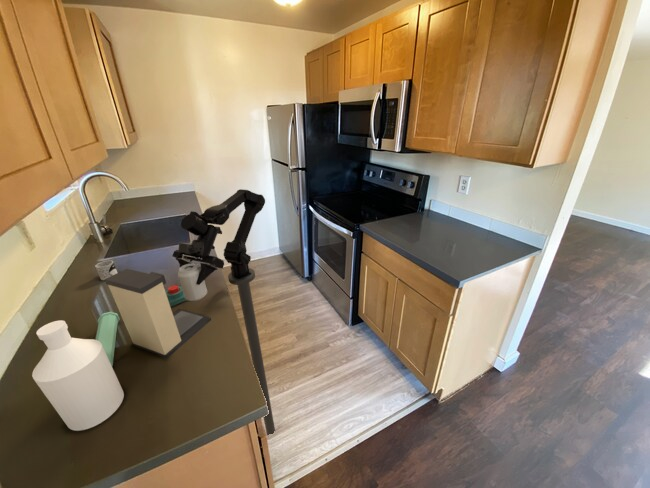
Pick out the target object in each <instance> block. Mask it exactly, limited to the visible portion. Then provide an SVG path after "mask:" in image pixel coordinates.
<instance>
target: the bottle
mask: <svg viewBox="0 0 650 488" xmlns="http://www.w3.org/2000/svg"><path fill="white" fill-rule="evenodd" d="M68 328H69V326H68V324H67V322H66V321H65V320H62V319H61V320H54V321H51V322H49V323H46V324H44V325H43V326H41V327H39V328H38V329H37V330H36V335H37V337H38V339H39V340H40V341H43V343H44V344H45V346H46V347H47V349H46V351H45V353H44V354H43V355H42V357H41V359H40V360H39V362H38V363H37V364H36V365H35V367H34V368H33V371H32V373H31V376H32V379H33V380H34V382H35V383H36V385H37V386H38V388H39V389H40V390H41V392H42V393H43V395H44V396H45V397H46V399H47V400H48V402H49V403H50V404H51V405H52V407H53V409H54V410H55V411H56V412H57V414H58V415H59V417H60V419H62V421H63V422H64V424H65V425H66V426H67V428H68V429H70V430H72V431H76V432H79V431H85V430H88V429H89V430H90V429H91V428H94V427H96V426H98V425H99V424H102V423H103V422H104V421H106V420H107V419H109V418H110V417H111V416H112V415H113V414H114V413H116V411H117V410H118V409H119V408H120V406H121V404H122V403H123V400H124V397H125V393H124V390H123V387H122V386H121V383H120V381H119V379H118V376H117V374H116V372H115V370H114V368H113V366H111V364H110V361H109V359H108V357H107V355H106V353H105V350H104V348H103V346H102V344H101V343H100V341H98V340H96V339H93V338H77V337H72V336H71V334H70V332H69V330H68Z"/></svg>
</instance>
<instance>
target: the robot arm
mask: <svg viewBox="0 0 650 488" xmlns="http://www.w3.org/2000/svg"><path fill="white" fill-rule="evenodd" d="M242 204H243V207H244V211H243V215H242V218H241V220H240V223H239V224H238V225H239V226H238V228H237V230H236V233H235V236H234V237H233V239H232V241H227V242H226V243H225V247H224V249H223V258H224V259H221V258H219V257H217V256H216V255H215V256H214V255H210V254H211V252H212V250H215V249H216V246H214V244H215V241H216V238H217V236H218V235H222V234H223V231H222V229H221V227H220V226H223V225H225V223H226V222H227V221H228V220H229V219H230V215H231V213H232V212H233V211H235V210H236V209H237V208H239V207H240V206H241V205H242ZM265 204H266V199H265V197H264V195H263V194H259V193H256V192H253V191H251V190H248V189H243V188H242V189H241V188H240V189H237V191H236V192H235V193H234V194H232V195H231V196H229V197H228V198H227V199H225V200H224V201H223V202H221V203H220V204H217V205H212V206H210V207H208V208H206V209H205V210H204V211H203V213H201V214H199V213H198V212H196V211H190V212H189V214H186V216H184V217H183V218H182V219H181V221H180V226H181V229H183V230H185V231H187V232H188V233H190V234H192V235H194V236H197V238H196V239H193V240H192V242H179V243H178V249H176V250H174V251H173V253H172V255H171V257H173V258H175V260H176V261H177V262H178V264H179V268H180V267H182V266H183V265H186V264H190V263H192V262H200V263H199V265H200V267H201V271H200V274H199V276H198V279H197V283H196V284H198V285H200V284H201V283H202V282H203V281H206V279H207V278H208V277H209V276H211V274H213V273H214V272H215V271H218V269H223V268H224V267H225V261H226V263H227V264H230V273H231V272H232V275H233V276H234V277H235V278H237V279H241V278H243V277H246V276H248V275H251V272H249V268H250V266H249V264H250V262H251V259H252V256H250V255H249V254H248V253H247V246H246V243H247V241H248V237H249V235H250V232H251V230H252V227H253V224H254V221H255V219H256V216H257V215H258V214H259V213H260V212H261V211H262V210H263V208H264V206H265Z"/></svg>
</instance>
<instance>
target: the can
mask: <svg viewBox="0 0 650 488" xmlns="http://www.w3.org/2000/svg"><path fill="white" fill-rule="evenodd" d="M200 271H201V266H199V264H198V263H195V262H190V264H186V265H183V266H182V267H180V266H179V268H178V271H177V272H178V273H177V276H178V280H179V284H180V286H181V287H182V290H183V293H184V296H185V299H186V301H189V302H197V301H200V300H202V299H203V298H205V296H206V295H207V294H208V289H207V285H206V280H204V281H203V282H202V283H201V284H200V285H198V284H196V283H197V279H198V276H199V274H200Z"/></svg>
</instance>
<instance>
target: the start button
mask: <svg viewBox="0 0 650 488" xmlns="http://www.w3.org/2000/svg"><path fill="white" fill-rule="evenodd" d="M178 286H179V285H175V284H174V285H171V286H169V287H168V288H167V290H168V291H169V293H170V294H174V293H177V292H178V291H179V287H178Z"/></svg>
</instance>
